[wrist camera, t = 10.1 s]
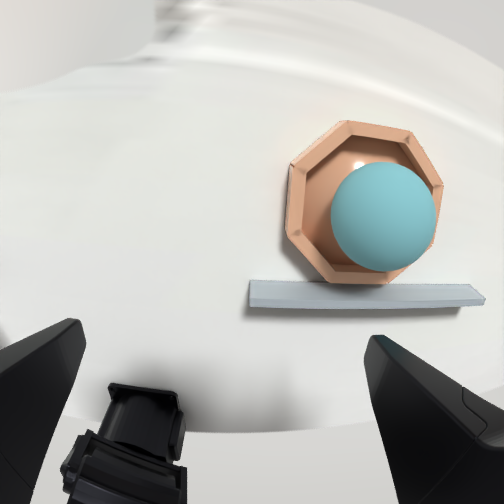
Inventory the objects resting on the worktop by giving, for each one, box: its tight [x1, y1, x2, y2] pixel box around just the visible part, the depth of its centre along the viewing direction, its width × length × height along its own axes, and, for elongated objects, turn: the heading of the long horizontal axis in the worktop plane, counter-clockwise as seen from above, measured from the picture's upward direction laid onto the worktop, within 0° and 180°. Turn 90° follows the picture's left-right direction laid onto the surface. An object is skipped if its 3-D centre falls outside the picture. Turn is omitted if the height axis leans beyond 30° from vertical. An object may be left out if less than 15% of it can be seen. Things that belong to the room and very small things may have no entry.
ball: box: [331, 162, 436, 271], centre depth 17 cm, size 6×6×6 cm
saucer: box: [285, 120, 444, 284], centre depth 19 cm, size 10×10×2 cm
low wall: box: [250, 280, 486, 309], centre depth 21 cm, size 18×1×2 cm, turn 87°
